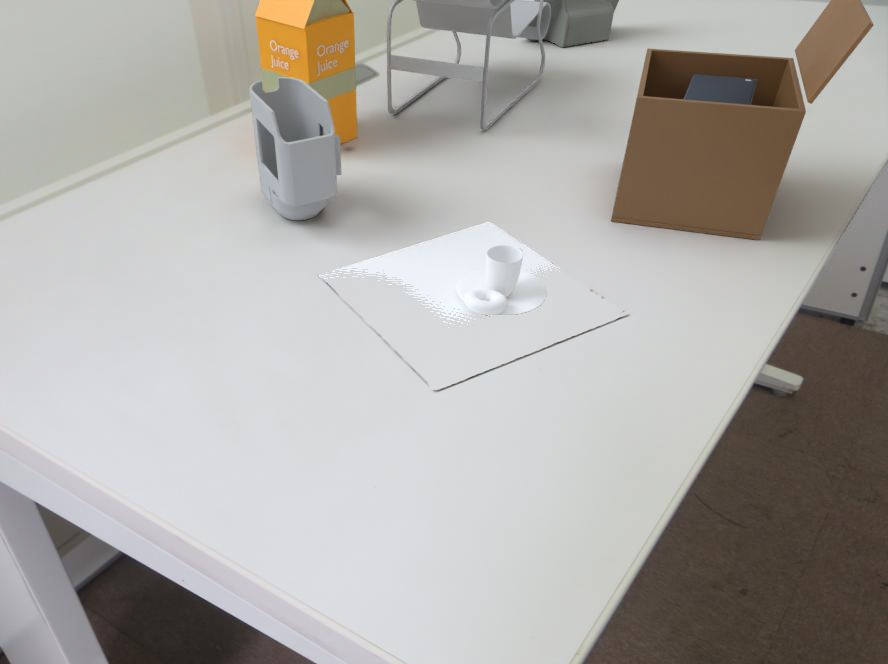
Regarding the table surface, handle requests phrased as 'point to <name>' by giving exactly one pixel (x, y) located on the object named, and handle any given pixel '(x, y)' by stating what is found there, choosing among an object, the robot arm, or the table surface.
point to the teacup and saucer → (498, 280)
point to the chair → (476, 12)
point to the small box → (721, 89)
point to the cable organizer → (295, 147)
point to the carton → (708, 145)
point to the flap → (830, 43)
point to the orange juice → (312, 52)
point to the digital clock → (579, 21)
